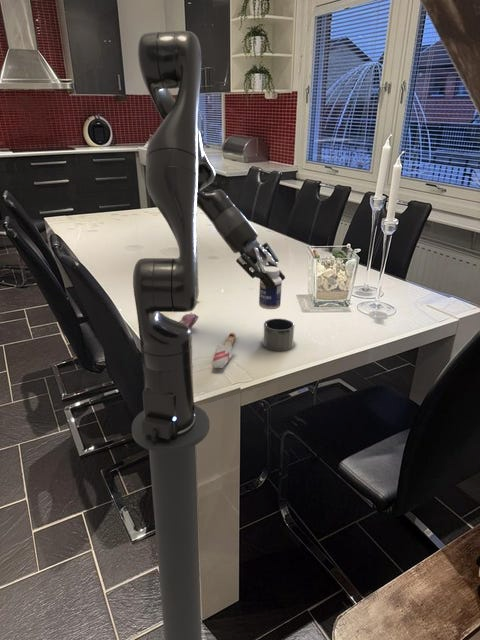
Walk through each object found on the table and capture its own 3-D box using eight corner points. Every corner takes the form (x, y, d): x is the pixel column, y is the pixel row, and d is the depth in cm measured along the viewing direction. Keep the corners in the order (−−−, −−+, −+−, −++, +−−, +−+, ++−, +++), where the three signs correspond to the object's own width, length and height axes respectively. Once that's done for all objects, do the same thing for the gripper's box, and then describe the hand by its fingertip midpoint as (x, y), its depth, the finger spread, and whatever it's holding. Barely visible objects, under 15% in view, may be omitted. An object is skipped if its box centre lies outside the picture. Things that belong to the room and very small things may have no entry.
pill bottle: (255, 307, 116) (256, 269, 112) (264, 300, 120) (265, 264, 116) (275, 311, 114) (277, 273, 110) (283, 304, 118) (285, 267, 114)
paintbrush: (208, 361, 110) (226, 330, 129) (208, 371, 111) (226, 339, 130) (224, 362, 110) (239, 331, 128) (224, 372, 111) (239, 340, 129)
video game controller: (178, 345, 128) (187, 326, 125) (164, 336, 129) (174, 317, 125) (194, 332, 137) (203, 313, 133) (181, 323, 137) (190, 305, 134)
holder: (289, 353, 122) (290, 332, 119) (259, 348, 124) (260, 328, 121) (295, 340, 129) (297, 320, 126) (267, 336, 131) (268, 316, 128)
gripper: (230, 225, 106) (276, 283, 106) (258, 215, 118) (299, 267, 117) (210, 245, 110) (254, 301, 110) (239, 233, 122) (278, 284, 122)
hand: (277, 283), depth 114 cm, fingers closed on pill bottle, 5 cm apart
